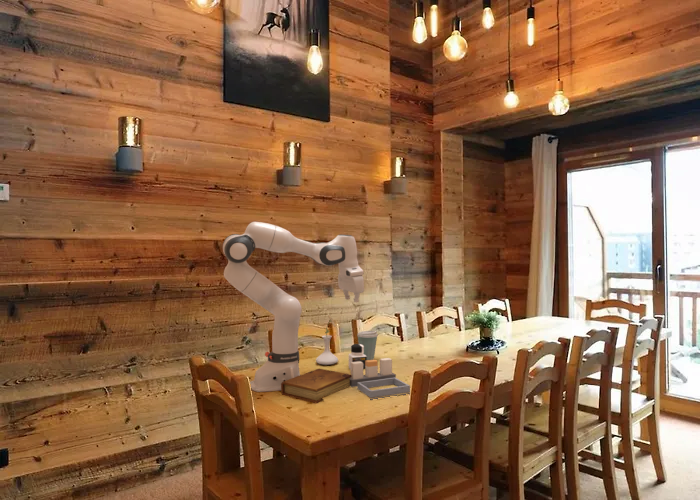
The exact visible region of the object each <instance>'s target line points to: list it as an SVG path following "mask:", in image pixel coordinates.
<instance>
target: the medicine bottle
mask: <svg viewBox="0 0 700 500" xmlns="http://www.w3.org/2000/svg"><path fill="white" fill-rule="evenodd" d="M350 351H351V353H348V369H349V370H350V371H351V362H358V361H361V362H363V370H365V361H366V360H367V356H366V355H364V354H363V353H364V346H363V345H362V344H359V343H354V344H351V346H350Z"/></svg>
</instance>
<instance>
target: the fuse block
mask: <svg viewBox="0 0 700 500" xmlns="http://www.w3.org/2000/svg"><path fill="white" fill-rule="evenodd" d="M387 378H397V375H396V374H395V373H394V372H392V374H390V375H381V374H380V372H378V376H375V377H366V376H365V374H363V378H359V379H352V378H351V377H350V386H349V387H350V388H353V387H355V388H357V382H365V381H372V380H380V379H387Z"/></svg>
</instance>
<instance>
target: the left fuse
mask: <svg viewBox="0 0 700 500" xmlns="http://www.w3.org/2000/svg"><path fill="white" fill-rule="evenodd" d="M350 375H352V377H351V378H352V379H359V378H363V375H364V369H363V362H361V361H358V362H351V370H350Z"/></svg>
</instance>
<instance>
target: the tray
mask: <svg viewBox="0 0 700 500" xmlns="http://www.w3.org/2000/svg"><path fill="white" fill-rule="evenodd" d="M391 385H392V386H393V385H394V386H393V387H386V388H379V387H383V386H384V387H385V386H391ZM377 387H378V388H379V389H374V390H373V389H372V390H371V388H377ZM356 389H357V390H358V391H359V392H361V393H363V394H364V395H365V396H367V397H369V399H370V400H369V401H374V400H373V399H377V400H379V399H378V398H384V397H390V396H397V395H403V396H407V395H406V394H409V395H411V385H410V384H408V383H406V382H404V381H402V380H401V379H399V378H397V377H396V378H387V379H380V380H372V381H365V382H357V386H356ZM397 397H398V396H397ZM390 398H391V397H390ZM384 399H385V398H384Z"/></svg>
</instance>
